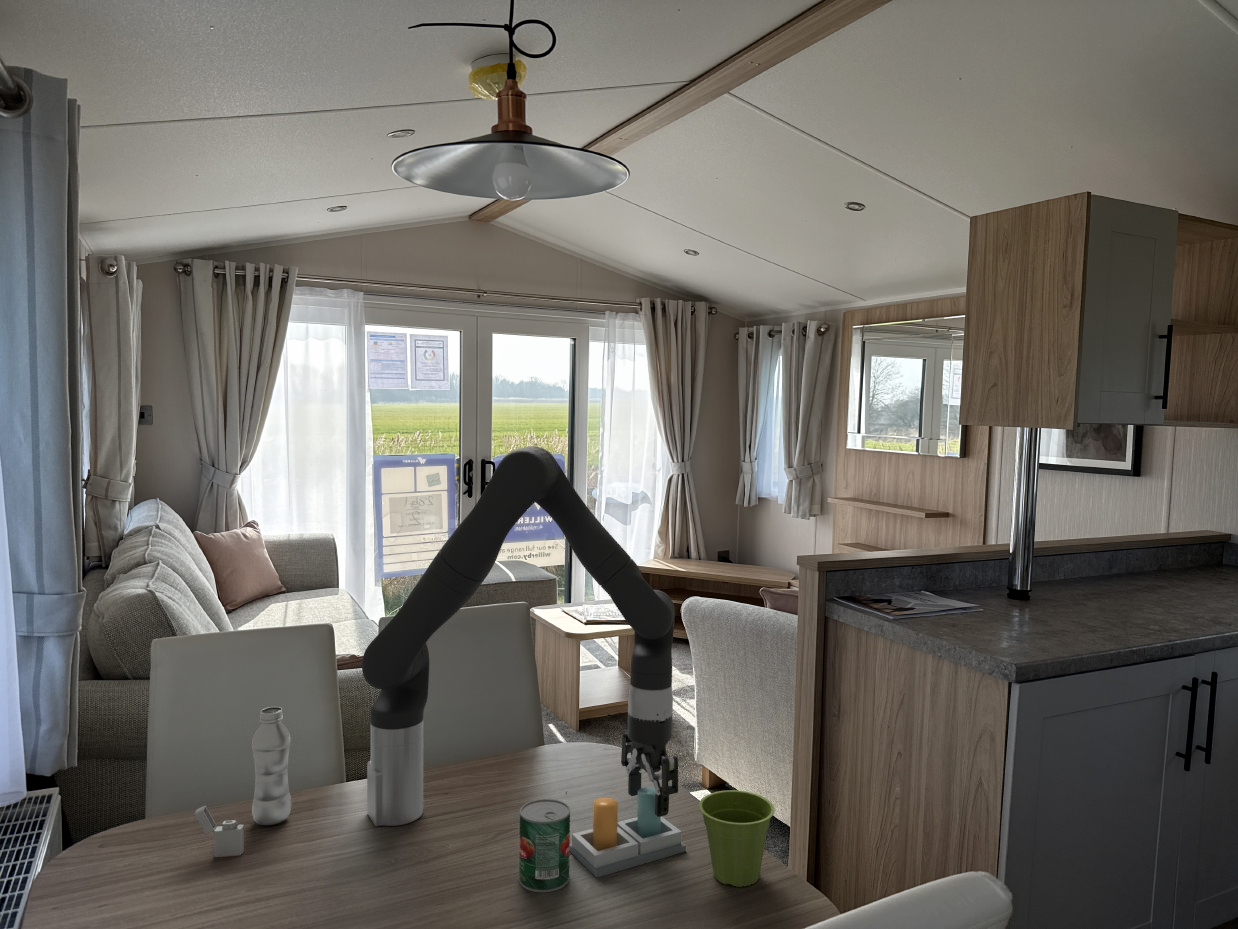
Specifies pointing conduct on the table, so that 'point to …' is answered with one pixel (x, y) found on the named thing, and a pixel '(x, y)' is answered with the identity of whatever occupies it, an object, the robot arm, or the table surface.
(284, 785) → the plastic bottle
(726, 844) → the plant pot
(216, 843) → the lighter
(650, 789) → the teal pin
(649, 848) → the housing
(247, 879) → the table surface
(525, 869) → the canned tomato
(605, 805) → the orange pin
